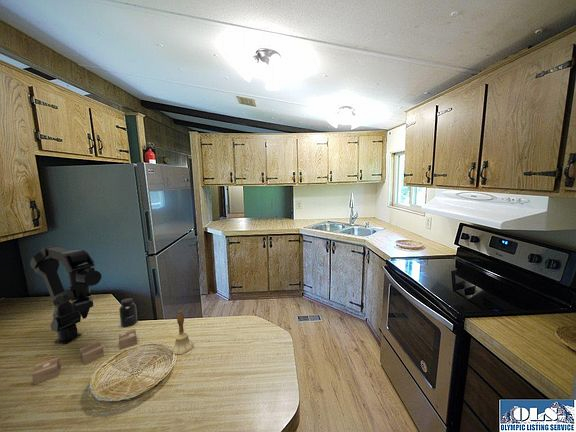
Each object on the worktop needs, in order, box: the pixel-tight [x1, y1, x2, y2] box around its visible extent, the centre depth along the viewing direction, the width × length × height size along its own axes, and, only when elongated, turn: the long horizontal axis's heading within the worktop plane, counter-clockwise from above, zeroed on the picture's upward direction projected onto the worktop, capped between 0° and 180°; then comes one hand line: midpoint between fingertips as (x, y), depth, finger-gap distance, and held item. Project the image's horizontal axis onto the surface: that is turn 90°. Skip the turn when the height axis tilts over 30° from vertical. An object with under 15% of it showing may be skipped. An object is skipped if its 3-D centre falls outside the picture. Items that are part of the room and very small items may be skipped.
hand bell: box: [171, 309, 194, 355], centre depth 98 cm, size 8×8×16 cm
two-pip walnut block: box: [118, 328, 138, 350], centre depth 103 cm, size 6×6×4 cm
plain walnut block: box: [79, 340, 105, 365], centre depth 95 cm, size 6×6×4 cm
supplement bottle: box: [118, 297, 138, 328], centre depth 118 cm, size 7×7×12 cm
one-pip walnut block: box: [31, 356, 62, 385], centre depth 87 cm, size 6×6×4 cm
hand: (84, 318), depth 100 cm, fingers closed
